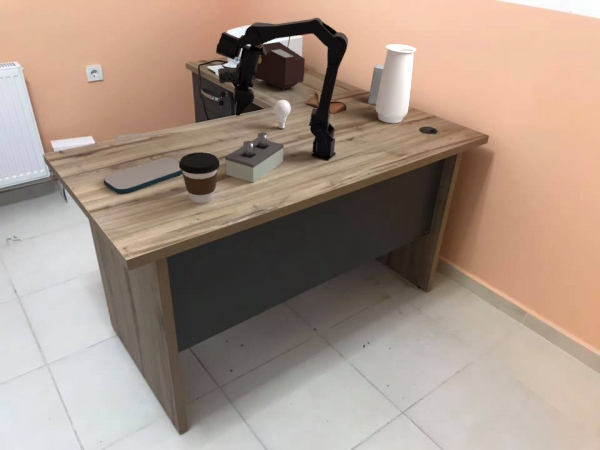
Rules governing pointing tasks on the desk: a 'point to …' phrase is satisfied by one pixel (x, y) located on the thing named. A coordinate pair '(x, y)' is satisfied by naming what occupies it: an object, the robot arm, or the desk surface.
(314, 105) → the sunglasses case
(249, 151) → the outer peg
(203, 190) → the coffee cup
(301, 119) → the desk surface
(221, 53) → the robot arm
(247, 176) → the press block
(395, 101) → the vase
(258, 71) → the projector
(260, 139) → the inner peg
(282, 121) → the lightbulb
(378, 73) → the skincare box
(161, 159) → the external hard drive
